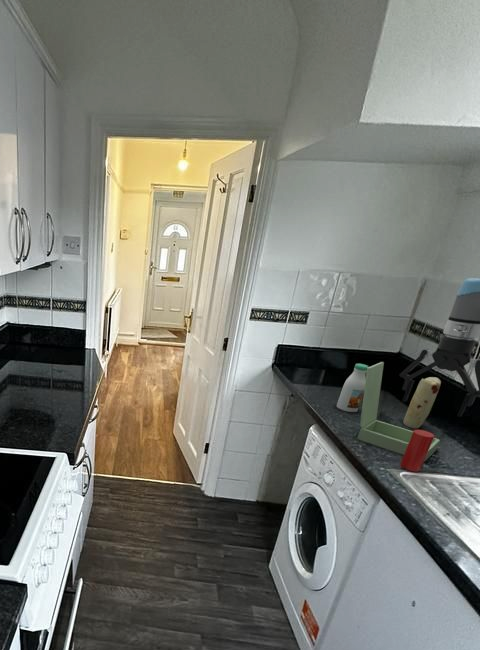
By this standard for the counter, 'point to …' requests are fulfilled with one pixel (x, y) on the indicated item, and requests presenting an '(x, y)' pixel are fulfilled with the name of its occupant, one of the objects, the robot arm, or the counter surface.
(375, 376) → the lid
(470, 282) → the robot arm
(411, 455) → the tin
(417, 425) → the food model
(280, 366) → the counter surface
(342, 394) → the milk bottle
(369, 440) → the green open box
